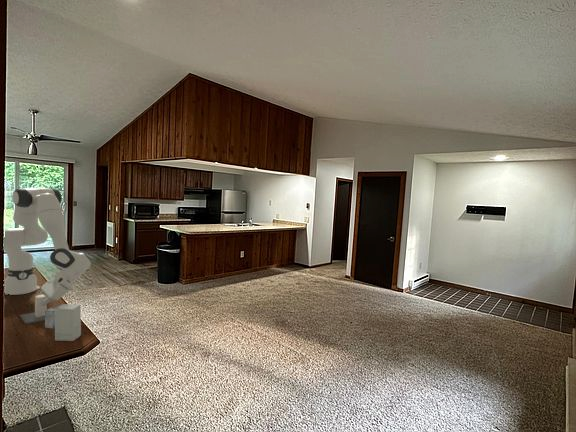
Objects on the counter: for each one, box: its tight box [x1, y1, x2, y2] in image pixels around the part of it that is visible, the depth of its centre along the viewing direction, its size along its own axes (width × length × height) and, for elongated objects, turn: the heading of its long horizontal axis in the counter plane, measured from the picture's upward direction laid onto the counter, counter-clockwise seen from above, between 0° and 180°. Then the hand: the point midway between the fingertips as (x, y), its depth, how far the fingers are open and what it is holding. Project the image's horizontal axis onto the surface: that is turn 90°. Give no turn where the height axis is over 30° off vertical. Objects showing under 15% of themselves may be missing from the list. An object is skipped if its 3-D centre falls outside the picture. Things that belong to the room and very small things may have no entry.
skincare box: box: [54, 303, 82, 342], centre depth 139 cm, size 8×6×15 cm
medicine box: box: [44, 304, 61, 329], centre depth 151 cm, size 8×4×9 cm, turn 168°
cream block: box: [34, 294, 48, 317], centre depth 158 cm, size 4×4×10 cm
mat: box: [19, 311, 45, 325], centre depth 158 cm, size 12×14×1 cm
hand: (39, 302), depth 157 cm, fingers open, 8 cm apart
